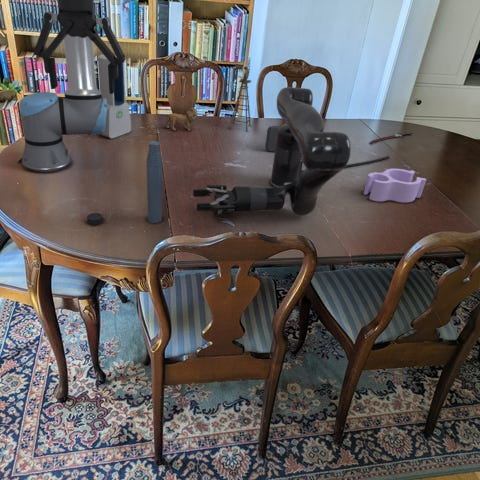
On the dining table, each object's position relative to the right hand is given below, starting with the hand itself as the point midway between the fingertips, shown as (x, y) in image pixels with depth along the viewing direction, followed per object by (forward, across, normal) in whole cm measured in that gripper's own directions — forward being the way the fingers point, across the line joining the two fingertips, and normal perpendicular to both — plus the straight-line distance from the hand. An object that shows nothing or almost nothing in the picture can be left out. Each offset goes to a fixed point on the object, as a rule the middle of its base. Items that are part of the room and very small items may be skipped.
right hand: (195, 199), depth 135 cm
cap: (+28, 0, +5) cm, 29 cm away
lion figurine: (-4, -75, +6) cm, 75 cm away
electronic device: (+24, -68, +6) cm, 73 cm away
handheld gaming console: (-47, -52, +6) cm, 71 cm away
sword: (-99, -66, +6) cm, 119 cm away
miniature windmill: (-30, -78, +6) cm, 84 cm away
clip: (-71, -12, +6) cm, 72 cm away
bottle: (+12, 0, +6) cm, 13 cm away
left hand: (+28, 0, -31) cm, 42 cm away
